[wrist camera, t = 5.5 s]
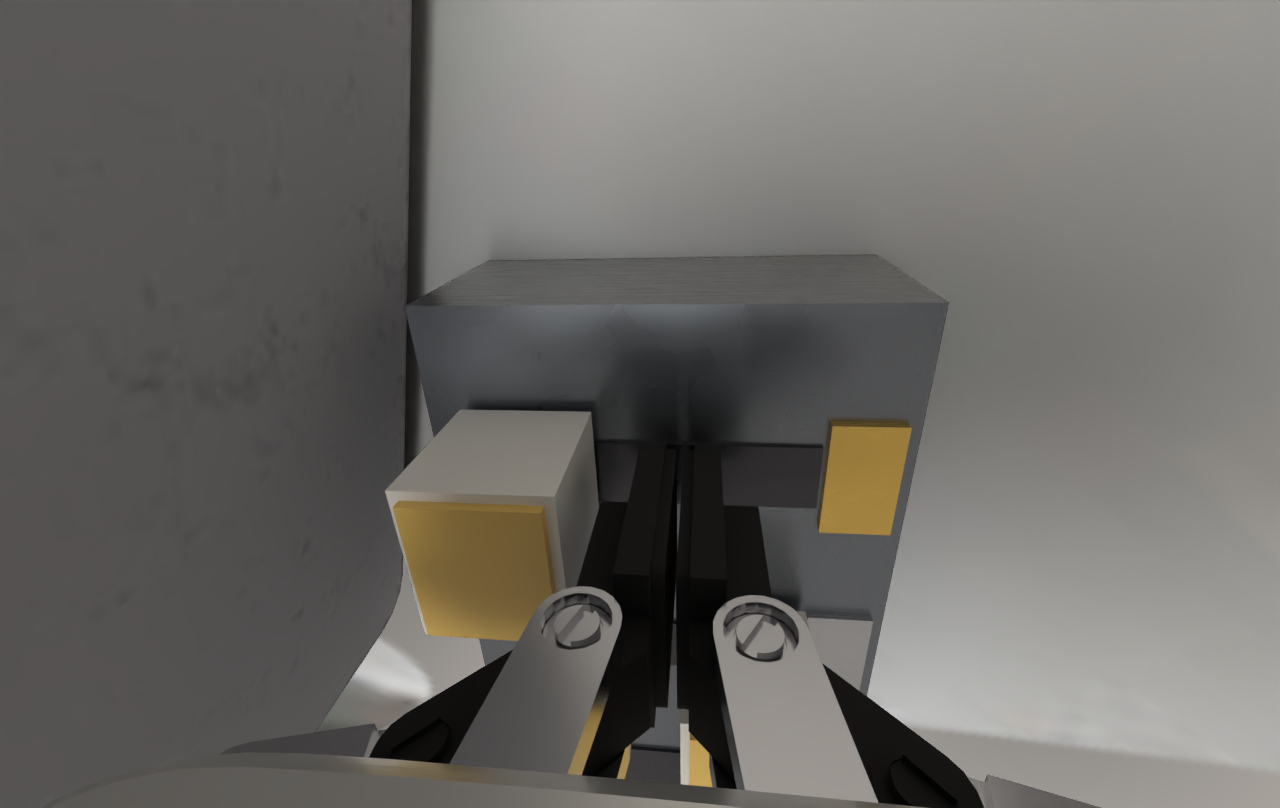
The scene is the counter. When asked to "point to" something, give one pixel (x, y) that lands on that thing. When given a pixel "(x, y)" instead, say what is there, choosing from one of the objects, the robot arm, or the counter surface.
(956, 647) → the counter surface
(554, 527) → the switch
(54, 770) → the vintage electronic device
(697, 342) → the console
